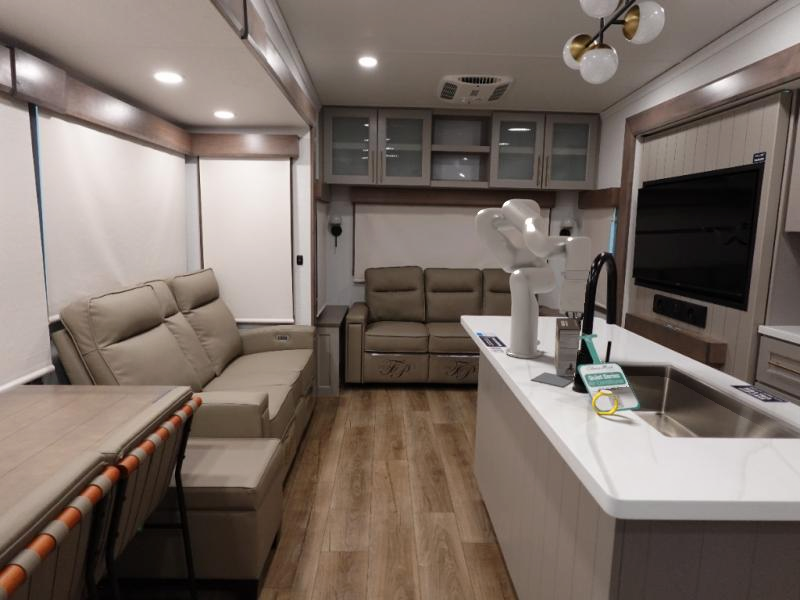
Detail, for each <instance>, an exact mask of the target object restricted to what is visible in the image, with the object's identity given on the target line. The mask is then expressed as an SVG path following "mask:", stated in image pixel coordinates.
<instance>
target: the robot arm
mask: <svg viewBox="0 0 800 600" xmlns="http://www.w3.org/2000/svg"><path fill="white" fill-rule="evenodd" d="M474 218H475V220H474V227H475V232H476V235H477V237H478V238H479V240H480V241H481V243H482V244H483V245H484V246H485V247H486V248H487V250H488V251H489V252H490V253H491V256H492V257H494V259H495V261H496V262H497V263H498V265H499V267H501V269H502V270H503V272H505V273H508V274H510V276H509V288H510V294H511V295H510V297H511V308H510V310H511V313H510V316H511V317H510V340H509V342H510V343H509V347H508V348H506V349H505V354H506V355H507V354H508V355H507V356H509V355H510V356H509V357H512V356H513V358H517V357H518V358H519V359H537V358H540V357H541V356H542V351H541V350H539V349H538V346H539V345H540V344H541V341H540V340H539V339H538V337H539V335H538V333H539V315H540V314H539V312H540V309H539V307H540V306H539V302H538V300H537V298H536V296H535V294H546V293H549V292H552V291H553V290H554V289H555V288H556V285H557V282H558V281H557V275H556V273H555V271H554V270H553V268H552V267H551V266H550V264H549V263H548V261H547V260H549V261H550V260H564V261H565V262H564V265H565V266H564V271H561V272H560V276H561V277H564V279H562V280H561V284H560V289H559V294H558V295H559V296H558V302H557V303H558V305H557V306H558V309H559V310H558V312H559V314H561V315H564V316H566V318H577V320H578V323H579V327H580V332H581V331H582V323H583V320H584V319H583V315H584V303H585V292H586V284H587V279H588V275H589V271H590V272H591V263H592V262H591V261H592V260H591V259H592V239H591V238H590V237H588V236H569V235H567V236H566V235H546V234H544V233H543V232H541V231H542V229H543V227H544V224H545V221H544V218H543V216H541V208H540V205H539V204H538V202H536V201H535V200H533V199H527V198H526V199H523V198H513V199H509V200H506V201H505V202H504V203H503V204H502V206H501V207H489V208H484V209H481V210H480V211H478V212H477V214H476V215H475V217H474ZM513 230H518V231H519V232H520V233H521V234H522V239H523V242H524V245H525V246H523V247H522V246H516V245H515V244H514V243H513V242H512V240H511V239H510V238H509V237H508V236H507V235H506V234H504V233H503V232H501V231H513ZM576 313H577V315H576Z"/></svg>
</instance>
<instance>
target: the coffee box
mask: <svg viewBox="0 0 800 600" xmlns="http://www.w3.org/2000/svg"><path fill="white" fill-rule="evenodd" d="M578 337H581V331H580V327H579V323H578V320H577V317H576V318H568V317H563V318H562V317H560V318H559V317H557V318H556V320H555V338H554V339H555V341H554V359H553V360H554V362H553V363H554V368H555V373H556V375H557V376H566V377H575V376H574V373H575V365H576V353H577V351H580V340H581V339H578Z"/></svg>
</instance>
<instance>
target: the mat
mask: <svg viewBox="0 0 800 600" xmlns="http://www.w3.org/2000/svg"><path fill="white" fill-rule="evenodd" d="M573 378H574V377H572V376H557V375H556V374H555V373H550V372H542V373H541V374H539V375H537V376H535V377H532V378H531V379H530V381H532V382H536V383H542V384H545V385H548V386H549V385H550V386H554V387H555V386H556V387H559V388H564V387H566V386H568V385H569V384H571V383H572V382H574V381H573Z"/></svg>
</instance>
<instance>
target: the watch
mask: <svg viewBox="0 0 800 600" xmlns="http://www.w3.org/2000/svg"><path fill="white" fill-rule="evenodd" d="M602 396H605V397H612V398H613V399H614V406H613V408H612V409H611V410H609V411H598V410H597V408H596V402H597V400H598V399H599V398H600V397H602ZM618 400H619V399H618V398H617V397H616V395H614V393H613V391H611V390H608V389H600V390H599V392H598V393H596V394H595V395H594V397H592V401H591V406H592V409H593V410H594V411H595V413H597V414H598V415H601V416H602V415H603V416H604V415H605V416H612V415H613V414H614V413H616V411H618V410H617V409H618V408H619V401H618Z"/></svg>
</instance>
